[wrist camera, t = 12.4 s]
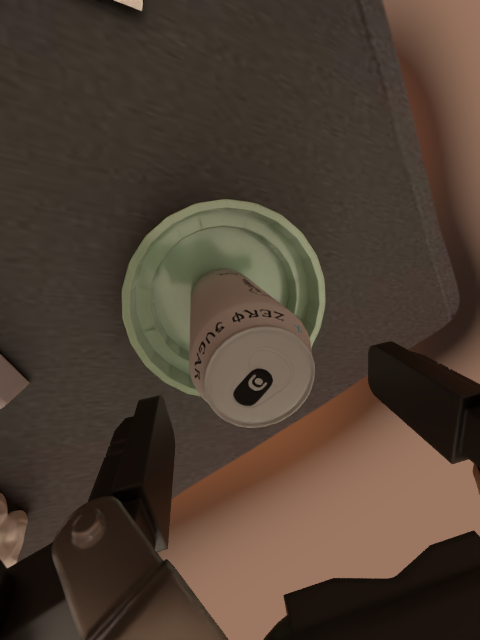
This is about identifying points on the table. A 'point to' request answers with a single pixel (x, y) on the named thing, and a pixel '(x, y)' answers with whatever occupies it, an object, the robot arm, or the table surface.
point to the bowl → (204, 256)
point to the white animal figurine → (11, 533)
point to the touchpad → (132, 3)
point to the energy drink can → (247, 351)
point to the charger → (9, 382)
